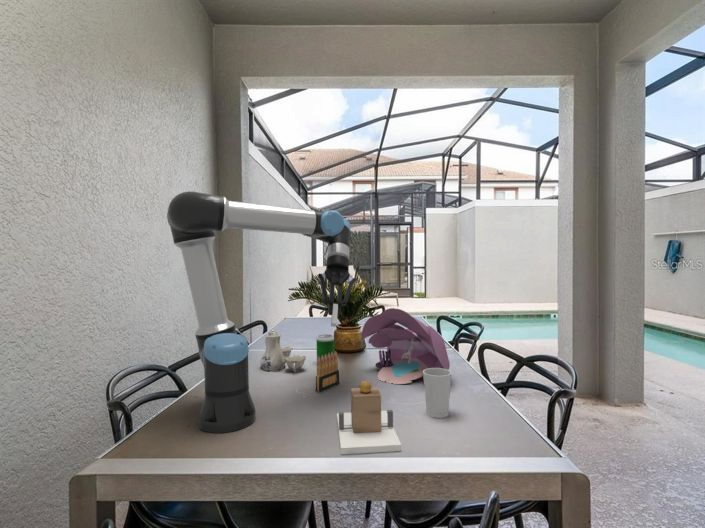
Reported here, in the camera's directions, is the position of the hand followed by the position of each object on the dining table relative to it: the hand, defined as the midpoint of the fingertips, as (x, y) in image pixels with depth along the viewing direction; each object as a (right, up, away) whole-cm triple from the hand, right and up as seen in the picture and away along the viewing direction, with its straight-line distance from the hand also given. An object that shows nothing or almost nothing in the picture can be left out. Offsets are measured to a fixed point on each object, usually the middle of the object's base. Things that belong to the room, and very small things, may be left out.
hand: (333, 324), depth 120 cm
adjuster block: (+9, -23, -20) cm, 32 cm away
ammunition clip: (-3, -24, +15) cm, 29 cm away
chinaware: (-24, -24, +42) cm, 54 cm away
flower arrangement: (+25, -24, +26) cm, 43 cm away
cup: (+30, -24, -8) cm, 40 cm away
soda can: (-6, -24, +45) cm, 51 cm away
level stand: (+9, -25, -20) cm, 33 cm away
